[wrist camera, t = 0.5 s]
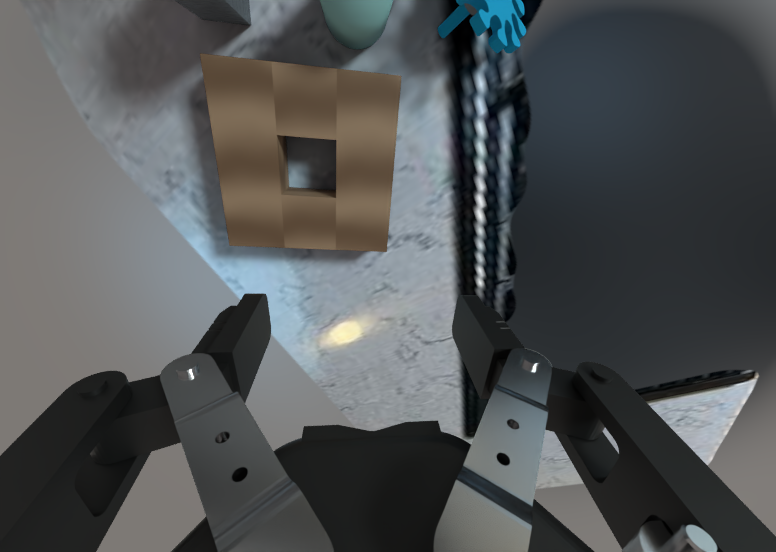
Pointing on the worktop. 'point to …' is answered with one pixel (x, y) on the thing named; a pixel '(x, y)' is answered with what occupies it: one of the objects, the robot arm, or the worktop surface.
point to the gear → (490, 21)
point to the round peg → (356, 20)
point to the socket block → (311, 120)
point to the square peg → (220, 10)
